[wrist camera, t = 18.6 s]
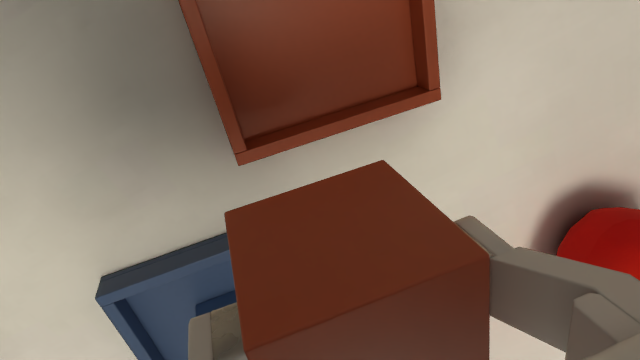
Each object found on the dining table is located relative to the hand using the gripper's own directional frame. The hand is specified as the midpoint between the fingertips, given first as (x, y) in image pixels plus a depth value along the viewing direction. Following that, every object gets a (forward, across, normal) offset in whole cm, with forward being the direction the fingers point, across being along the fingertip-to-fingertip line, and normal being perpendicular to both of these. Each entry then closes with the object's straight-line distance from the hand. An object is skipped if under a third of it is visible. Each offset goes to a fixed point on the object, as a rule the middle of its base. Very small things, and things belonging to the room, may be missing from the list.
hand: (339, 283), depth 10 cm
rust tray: (+16, -5, -5) cm, 18 cm away
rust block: (+2, 0, 0) cm, 2 cm away
